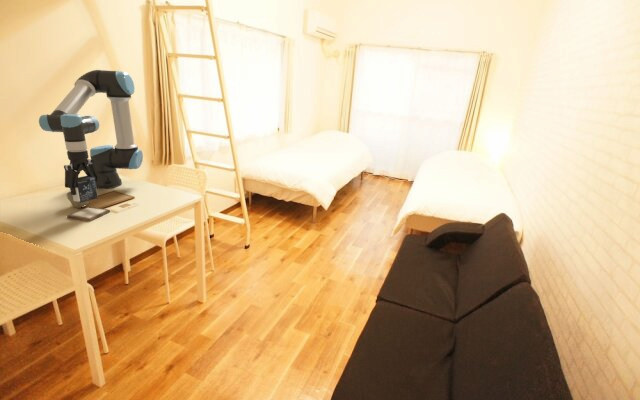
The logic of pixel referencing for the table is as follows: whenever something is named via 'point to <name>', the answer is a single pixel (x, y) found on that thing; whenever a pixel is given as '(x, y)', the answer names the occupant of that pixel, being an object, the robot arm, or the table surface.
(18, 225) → the table surface
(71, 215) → the board
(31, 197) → the table surface
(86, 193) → the box
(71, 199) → the flower pot
